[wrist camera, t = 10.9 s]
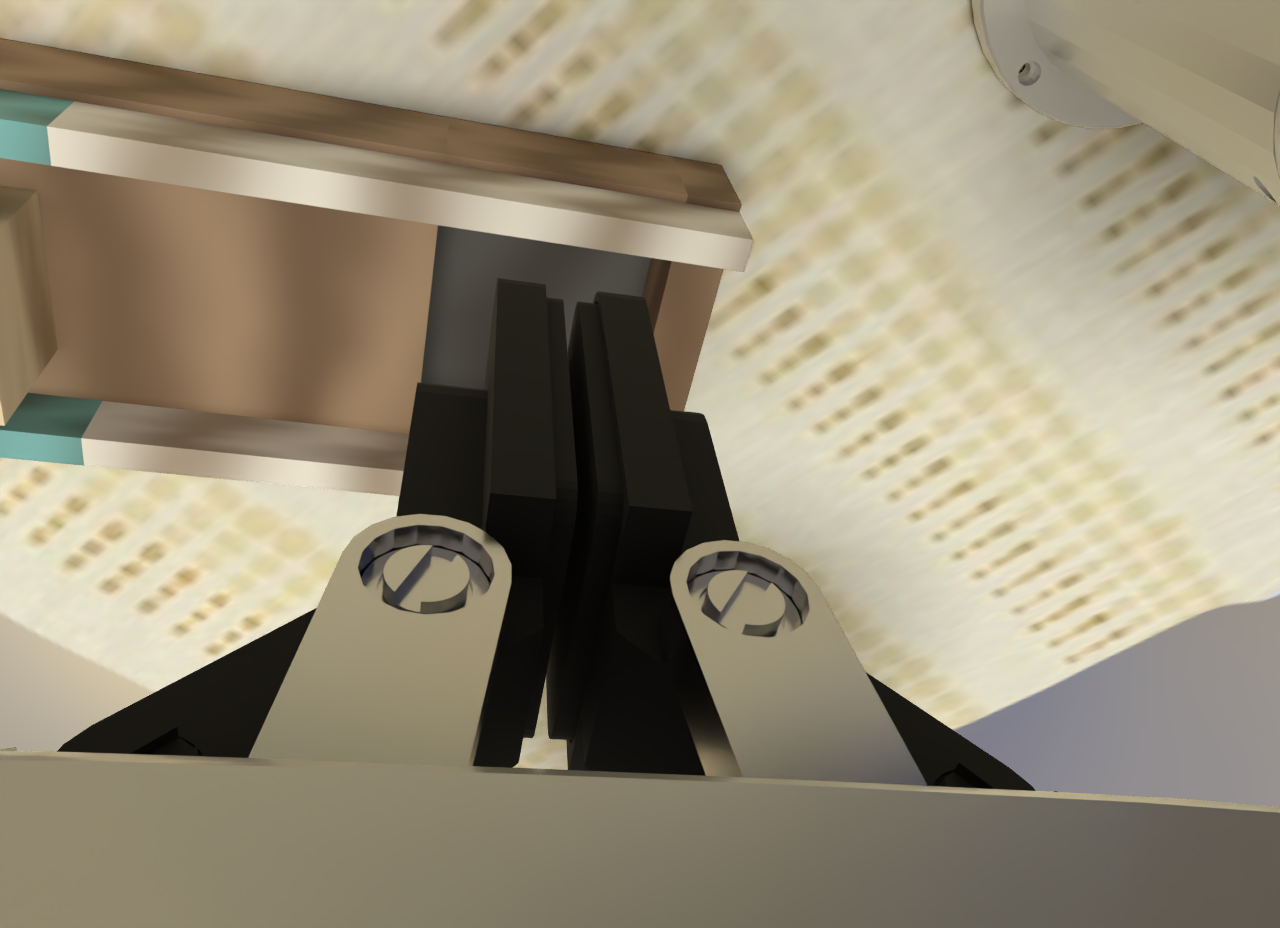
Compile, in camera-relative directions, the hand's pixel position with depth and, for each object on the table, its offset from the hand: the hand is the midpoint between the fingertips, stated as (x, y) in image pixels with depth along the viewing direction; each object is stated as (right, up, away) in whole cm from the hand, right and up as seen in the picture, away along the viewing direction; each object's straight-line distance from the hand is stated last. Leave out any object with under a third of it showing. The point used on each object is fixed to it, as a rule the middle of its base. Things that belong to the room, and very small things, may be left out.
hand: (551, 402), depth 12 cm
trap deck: (-13, +7, +28) cm, 32 cm away
